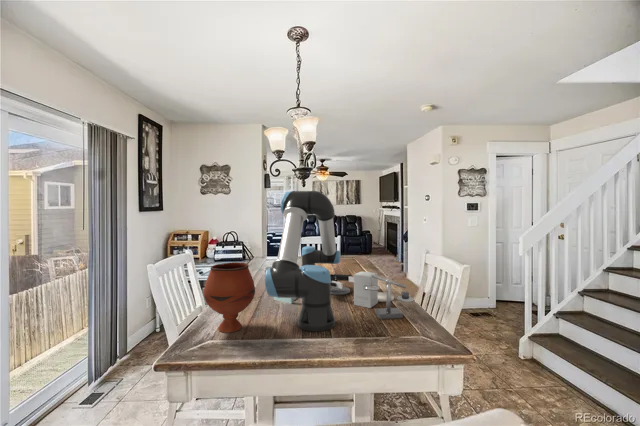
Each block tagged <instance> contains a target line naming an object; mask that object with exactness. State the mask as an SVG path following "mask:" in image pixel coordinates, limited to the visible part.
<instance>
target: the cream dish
mask: <svg viewBox="0 0 640 426" xmlns="http://www.w3.org/2000/svg"><path fill="white" fill-rule="evenodd" d="M394 300H395V295H394V294H392V293H391V302H392V301H394ZM379 302H381V303H382V302H384V303H387V302H386V292H385V291H382V292H381V291H378V303H379Z"/></svg>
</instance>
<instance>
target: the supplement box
mask: <svg viewBox="0 0 640 426" xmlns="http://www.w3.org/2000/svg"><path fill="white" fill-rule="evenodd" d="M372 274H373V275H376V276H379V275H378V274H379V273H377V272H371V271H370V272H369V271H361V270H360V271H359V272H356V273H354V274H353V277H354V282H353V305H354V306H358V307H363V308H367V309H368V308H369V309H372V308H373V307H374V306H376V305H377V304H379V301H378V292H379V290H377V291H369V290H365V289H364V288H363V286H364V285H370V284H371V275H372ZM378 280H379V279H376V278H373V277H372V285H378ZM378 286H379V285H378Z"/></svg>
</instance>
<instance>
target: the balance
mask: <svg viewBox="0 0 640 426" xmlns="http://www.w3.org/2000/svg"><path fill="white" fill-rule="evenodd" d="M372 277H373V278H376V279H378V280H380V281H382V282H385V283H386V284H385V285H386V286H385V288H386V292H385V293H386V302H385V303H386V307H383V308H375V309H374V313H375V315H376V316H377V318H378V319H379V320H386V319H387V320H388V319H390V320H391V319H403V318H404V316H403V314H404V313H403V312H402V311H401V310H400V309H399V308H398V307H392V303H391V302H392V301H391V294H392V293H391V291H392V289H391V288H392V287H391V286H392V285H394V286H397V287H401V288H403V289H404V291H401V295H398V296H397V297H396V300H397V301H399V302H401V303H413V302H414V299H415V298H414V297H413V296H410V292H409V291H407V289H406V288H407V285H405V284H402V283H400V282H397V281H394V280H392V279H391V278H389V277H388V278H385V277H383V276H382V277H381V276H379V275H378V276H376V275H373V274H372V275H371V284H370V285H364V286H363V288H364V289H365V290H369V291H377V290H378V291H379V290H381V286H380V285H372Z"/></svg>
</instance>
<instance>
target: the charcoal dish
mask: <svg viewBox="0 0 640 426" xmlns="http://www.w3.org/2000/svg"><path fill="white" fill-rule="evenodd" d="M342 288H343V289H340V288H336V287H332V286H331V295H335V296H343V295H348V294H350V293H351V289H350V288H349V287H345V286H342Z"/></svg>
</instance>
